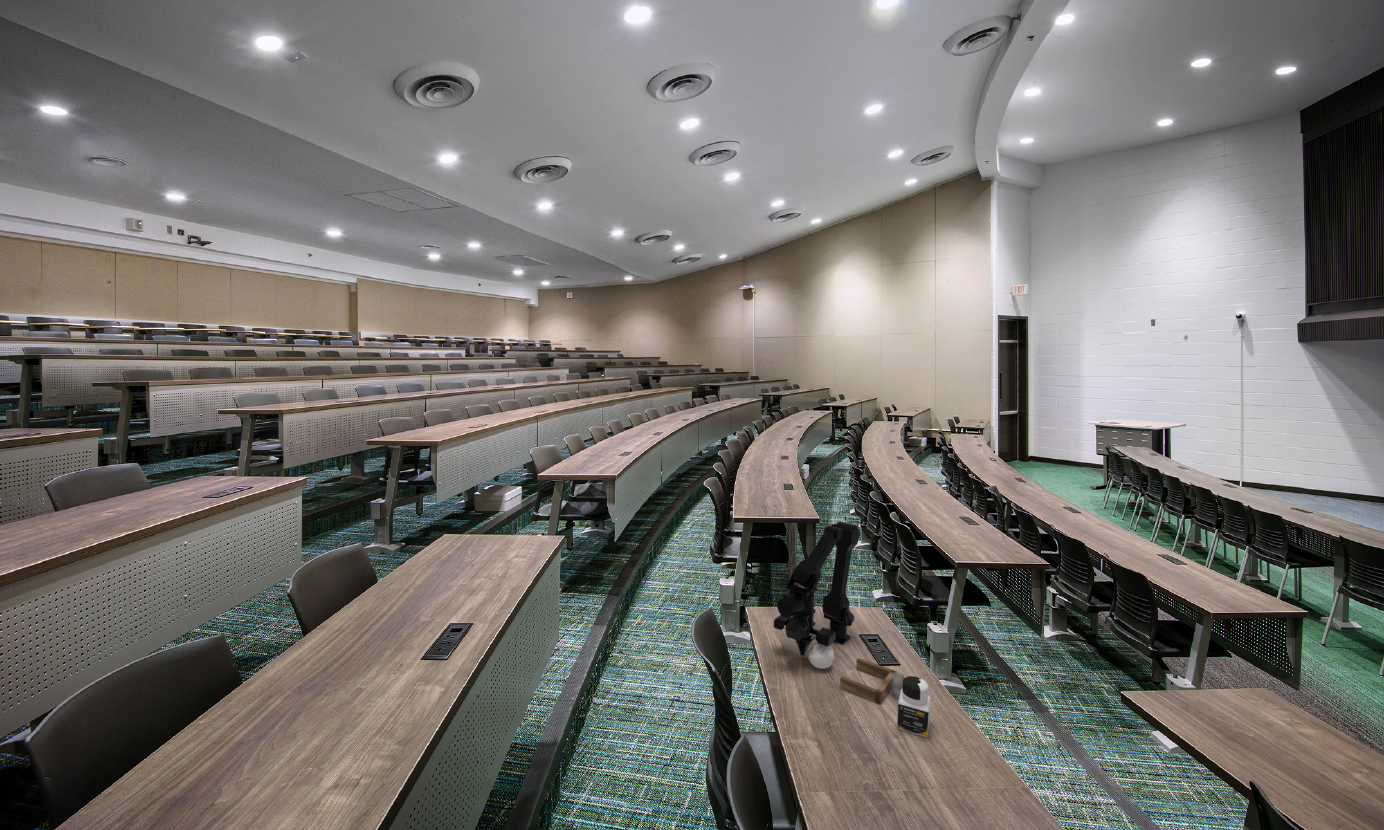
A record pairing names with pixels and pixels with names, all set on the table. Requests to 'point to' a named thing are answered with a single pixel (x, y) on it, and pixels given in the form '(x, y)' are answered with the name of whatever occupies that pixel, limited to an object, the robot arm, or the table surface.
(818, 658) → the white carved ball
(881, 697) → the carrier cradle
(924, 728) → the medicine bottle
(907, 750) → the table surface
